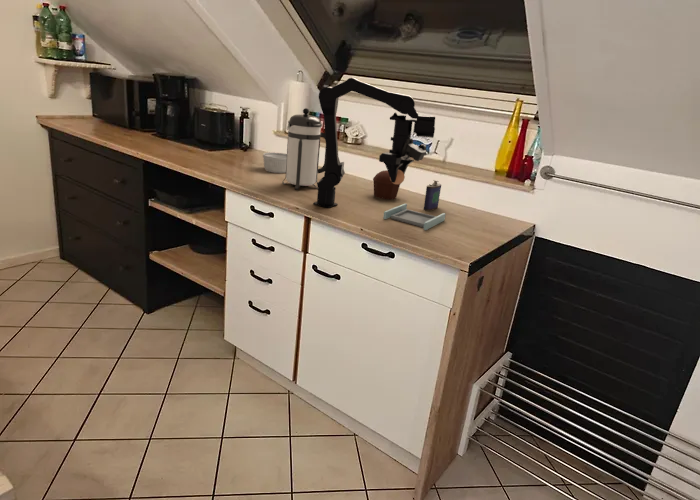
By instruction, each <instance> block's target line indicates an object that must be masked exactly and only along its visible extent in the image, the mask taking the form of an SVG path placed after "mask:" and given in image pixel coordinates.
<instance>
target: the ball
mask: <svg viewBox="0 0 700 500" xmlns="http://www.w3.org/2000/svg"><path fill="white" fill-rule="evenodd" d="M405 177H406V176H405V174H404V173H403V172H402V171H401V170H398V173H397V177H396V181H395V183H394V184H400V185H401V184H402V183H403V182H404V181H405ZM390 180H391V179H390ZM392 183H393V182H392Z"/></svg>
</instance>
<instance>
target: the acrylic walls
mask: <svg viewBox="0 0 700 500" xmlns="http://www.w3.org/2000/svg"><path fill="white" fill-rule="evenodd" d="M407 206H408V203H402V204H401V205H397V206H395V207H392V208H390V209H387V210H385V211H383V217H382V218H383V219H384V220H387V219H389V218H390V219H391V215H393V214H396V213H398V212H401V211H403V210H406V209H408V208H407ZM446 215H447V214H446V213H445V212H443V213H441V214H439V215H435V216H436V217H434V218H432V219H430V220H428V221H426V222H425V224H424V227H423V231H427V230H429V229H431V228H433V227H434V226H437V225H439V224H440V223H442V222H444V221H445V219H446Z"/></svg>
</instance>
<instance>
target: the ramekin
mask: <svg viewBox="0 0 700 500" xmlns="http://www.w3.org/2000/svg"><path fill="white" fill-rule="evenodd" d="M262 158H263V167H264V170H265V171H266V172H269V173H274V174H286V161H287V153H283V152H275V151H274V152H273V151H272V152H271V151H269V152H268V151H267V152H263V154H262Z"/></svg>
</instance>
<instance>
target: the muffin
mask: <svg viewBox="0 0 700 500" xmlns="http://www.w3.org/2000/svg"><path fill="white" fill-rule="evenodd" d="M372 181H373V196H374V197H376V198H378V199H381V200H396V198H397V196H398V192H399V190H400V186H401V184H394V183H392V182H391V180H390V176H389V173H388V170H382V171H379V172H378V173H376V174H375V176H374V177H373V178H372Z"/></svg>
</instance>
